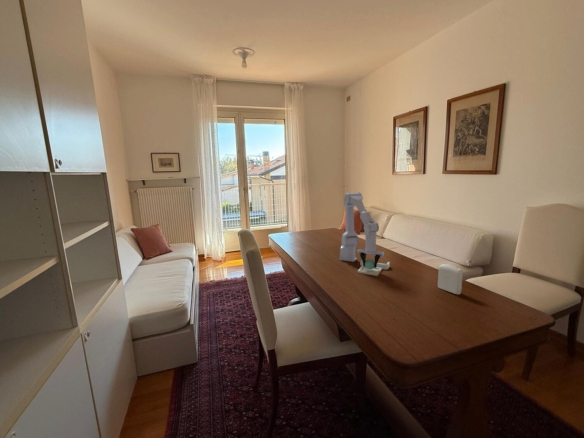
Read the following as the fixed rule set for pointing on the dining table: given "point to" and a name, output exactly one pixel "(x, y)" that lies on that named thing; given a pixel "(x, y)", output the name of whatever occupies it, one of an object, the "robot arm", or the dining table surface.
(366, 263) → the ball
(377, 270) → the white tray
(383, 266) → the wall
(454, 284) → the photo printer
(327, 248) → the dining table surface
